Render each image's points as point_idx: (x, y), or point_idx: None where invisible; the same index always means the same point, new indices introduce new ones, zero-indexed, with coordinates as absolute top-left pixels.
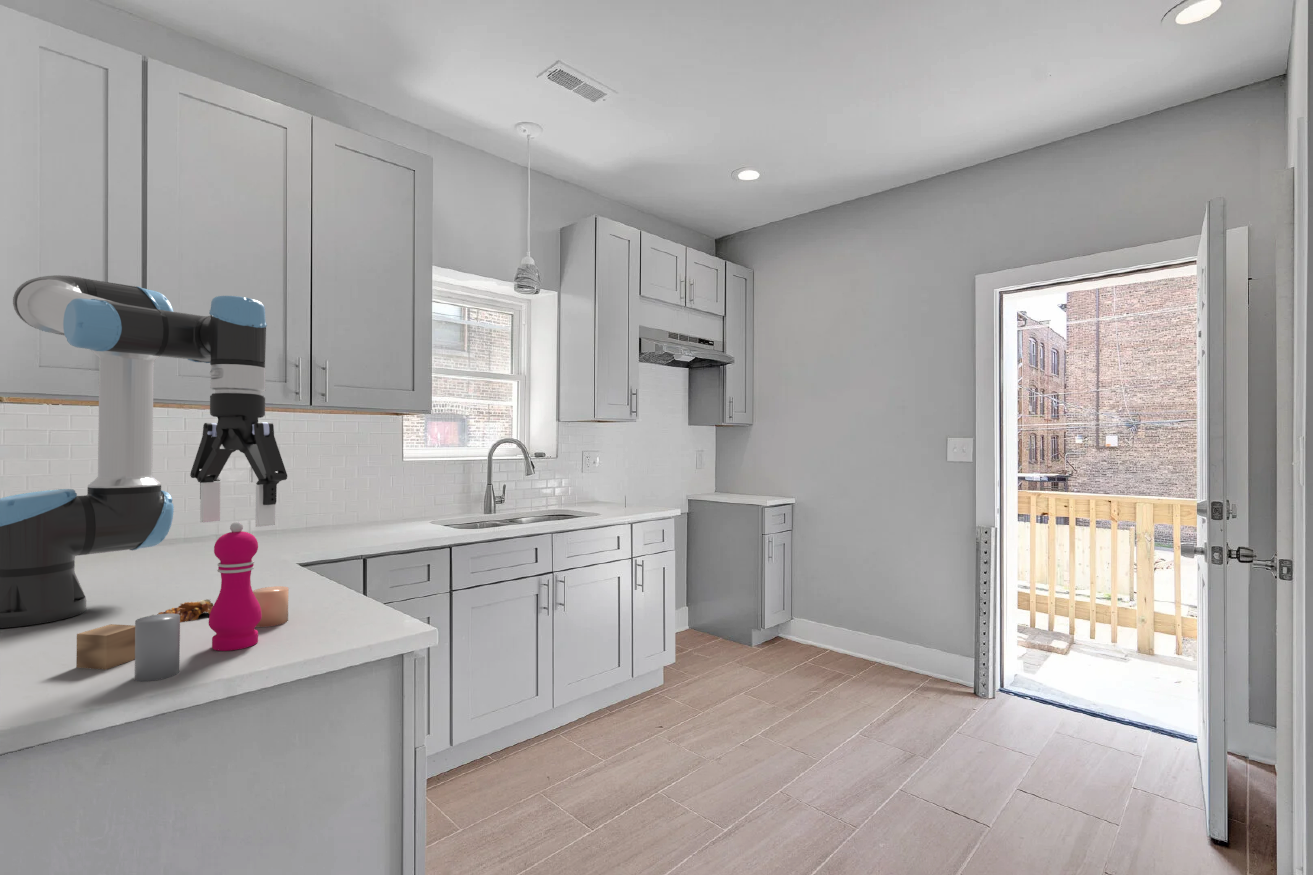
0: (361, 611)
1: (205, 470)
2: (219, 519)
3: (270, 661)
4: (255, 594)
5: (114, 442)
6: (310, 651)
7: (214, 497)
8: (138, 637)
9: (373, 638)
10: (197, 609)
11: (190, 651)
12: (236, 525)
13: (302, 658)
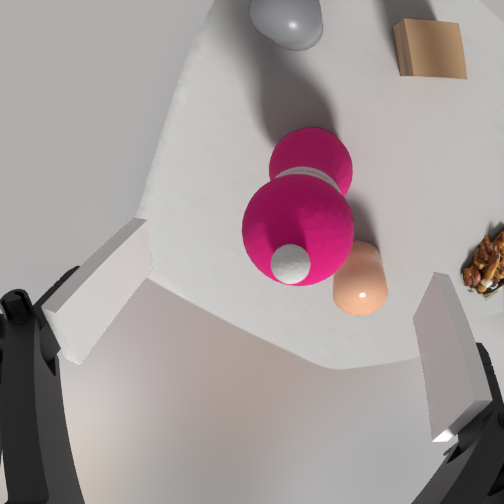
0: (270, 323)
1: (475, 464)
2: (413, 319)
3: (196, 116)
4: (369, 270)
5: None
6: (183, 165)
7: (436, 371)
8: None
9: (159, 230)
10: (479, 264)
11: (353, 115)
12: (275, 257)
13: (169, 141)
